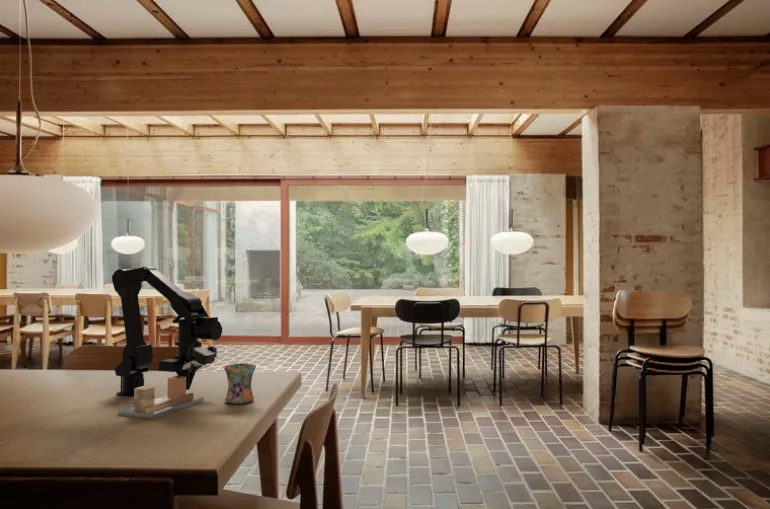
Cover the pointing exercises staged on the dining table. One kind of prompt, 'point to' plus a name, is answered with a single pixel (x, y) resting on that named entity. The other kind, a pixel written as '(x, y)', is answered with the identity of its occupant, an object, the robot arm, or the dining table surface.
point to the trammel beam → (146, 399)
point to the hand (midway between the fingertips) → (187, 389)
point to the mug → (239, 383)
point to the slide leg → (176, 387)
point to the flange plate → (162, 411)
